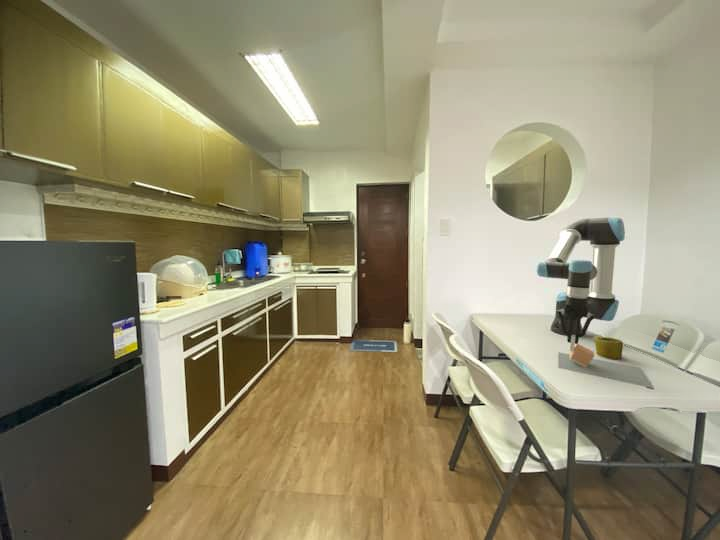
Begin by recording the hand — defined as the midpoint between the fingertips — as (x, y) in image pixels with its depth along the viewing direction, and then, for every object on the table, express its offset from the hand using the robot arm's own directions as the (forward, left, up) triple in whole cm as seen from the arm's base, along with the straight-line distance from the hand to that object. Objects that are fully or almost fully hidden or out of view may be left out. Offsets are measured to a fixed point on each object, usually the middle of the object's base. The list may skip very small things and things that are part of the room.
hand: (571, 350), depth 122 cm
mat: (0, +10, -6) cm, 11 cm away
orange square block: (0, +2, -4) cm, 5 cm away
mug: (-20, +14, -6) cm, 25 cm away
